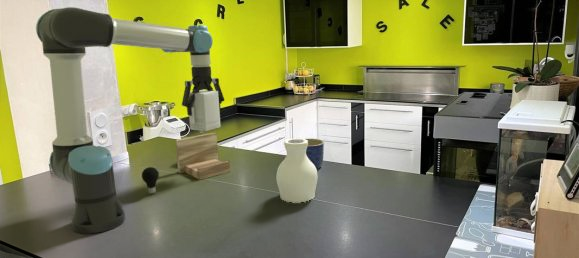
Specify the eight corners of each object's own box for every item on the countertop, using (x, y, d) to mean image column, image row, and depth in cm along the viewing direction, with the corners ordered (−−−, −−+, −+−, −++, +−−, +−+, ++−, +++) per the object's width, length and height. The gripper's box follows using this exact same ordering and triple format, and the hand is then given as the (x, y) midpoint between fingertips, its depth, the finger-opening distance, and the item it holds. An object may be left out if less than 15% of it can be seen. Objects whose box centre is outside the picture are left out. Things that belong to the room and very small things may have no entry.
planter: (305, 161, 190) (304, 137, 188) (329, 165, 183) (329, 140, 181) (288, 168, 181) (288, 143, 178) (313, 173, 173) (313, 147, 171)
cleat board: (234, 170, 180) (232, 138, 177) (194, 180, 169) (192, 146, 166) (216, 163, 191) (214, 132, 188) (178, 172, 180) (175, 139, 177)
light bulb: (163, 193, 157) (161, 167, 154) (149, 198, 152) (146, 171, 150) (155, 189, 160) (152, 164, 158) (140, 194, 156) (137, 167, 154)
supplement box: (221, 127, 175) (219, 90, 172) (206, 131, 168) (203, 93, 164) (204, 125, 180) (202, 89, 177) (189, 129, 172) (186, 92, 169)
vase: (292, 186, 159) (290, 134, 155) (325, 194, 151) (325, 138, 147) (268, 199, 148) (266, 143, 144) (303, 207, 140) (301, 148, 136)
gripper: (221, 63, 178) (224, 116, 183) (169, 67, 164) (174, 124, 169) (231, 64, 172) (234, 118, 177) (177, 68, 158) (182, 127, 163)
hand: (205, 121), depth 173 cm, fingers closed on supplement box, 10 cm apart
